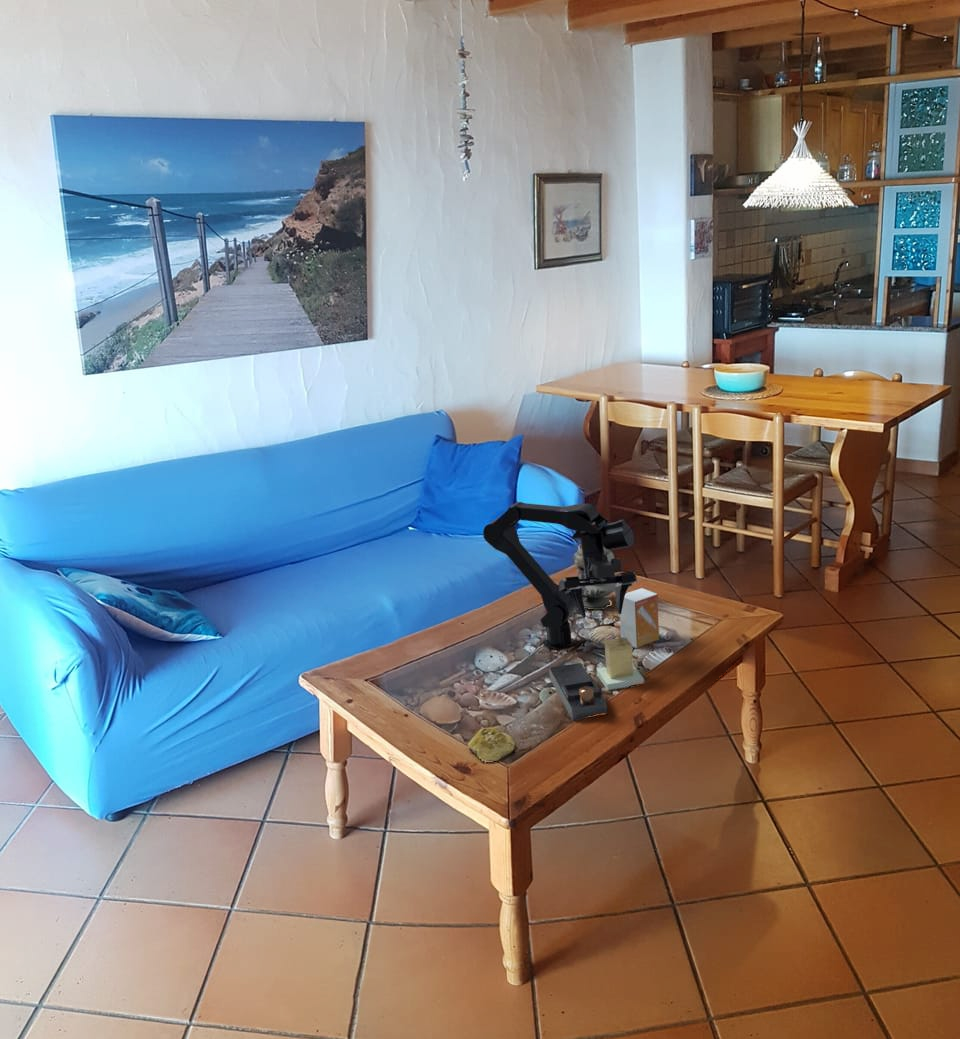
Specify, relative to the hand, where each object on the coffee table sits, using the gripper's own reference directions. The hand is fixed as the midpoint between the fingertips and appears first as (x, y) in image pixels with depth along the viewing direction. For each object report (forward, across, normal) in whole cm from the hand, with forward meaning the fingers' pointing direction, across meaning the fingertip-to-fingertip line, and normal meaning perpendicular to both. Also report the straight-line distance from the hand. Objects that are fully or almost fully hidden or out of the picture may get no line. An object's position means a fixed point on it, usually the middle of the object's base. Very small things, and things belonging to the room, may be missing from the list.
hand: (602, 615), depth 239 cm
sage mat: (+16, +1, -3) cm, 16 cm away
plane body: (+19, -11, -7) cm, 23 cm away
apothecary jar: (-7, +11, +40) cm, 42 cm away
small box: (+6, +14, +13) cm, 20 cm away
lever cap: (+15, +1, -4) cm, 15 cm away
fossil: (+28, -35, -20) cm, 50 cm away
